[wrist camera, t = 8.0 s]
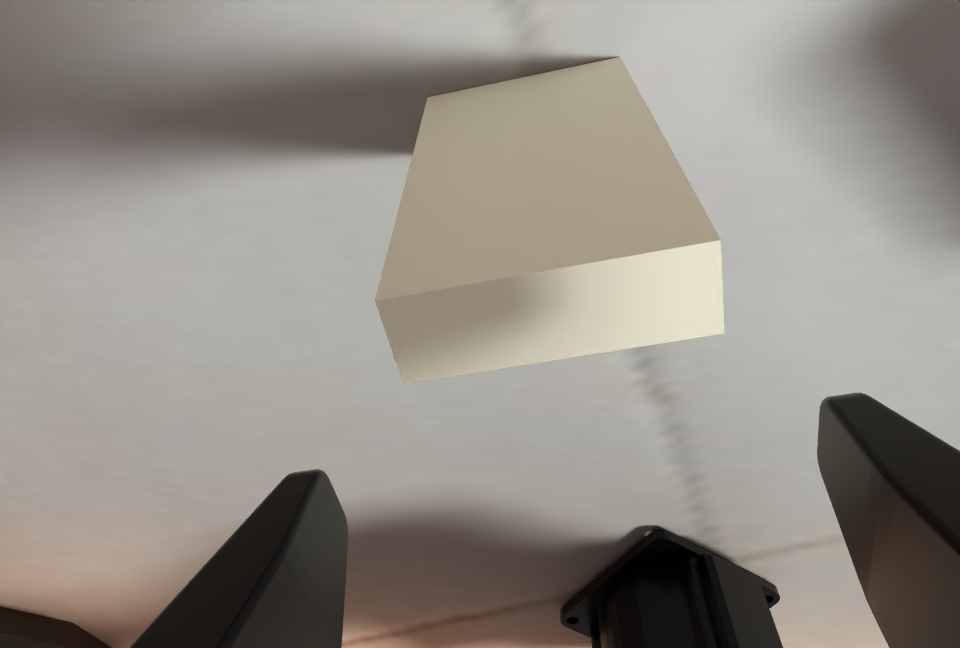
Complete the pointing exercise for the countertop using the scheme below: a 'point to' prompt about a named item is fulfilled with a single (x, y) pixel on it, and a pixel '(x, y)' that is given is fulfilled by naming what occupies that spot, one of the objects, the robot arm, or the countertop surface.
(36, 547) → the countertop surface
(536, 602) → the countertop surface
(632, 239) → the domino
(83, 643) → the wooden barrel
